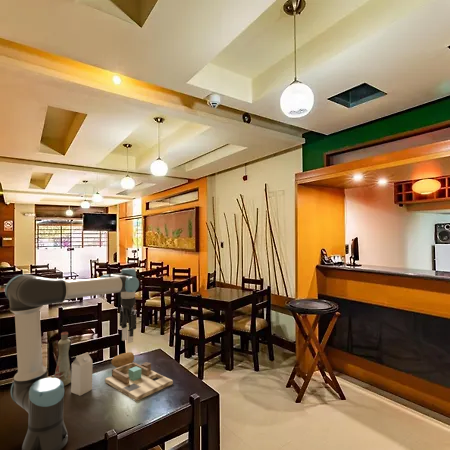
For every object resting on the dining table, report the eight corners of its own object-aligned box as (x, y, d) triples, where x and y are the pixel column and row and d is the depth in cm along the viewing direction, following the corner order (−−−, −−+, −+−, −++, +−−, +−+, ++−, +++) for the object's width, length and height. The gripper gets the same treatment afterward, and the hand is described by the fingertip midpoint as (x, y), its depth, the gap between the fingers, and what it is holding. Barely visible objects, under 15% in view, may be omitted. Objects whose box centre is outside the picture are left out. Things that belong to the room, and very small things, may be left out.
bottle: (71, 386, 163) (72, 333, 164) (51, 389, 160) (53, 335, 161) (72, 379, 171) (73, 328, 172) (54, 381, 168) (55, 330, 169)
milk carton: (70, 392, 156) (71, 355, 157) (83, 386, 162) (83, 350, 163) (80, 396, 153) (80, 357, 154) (92, 389, 159) (92, 353, 160)
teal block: (133, 381, 165) (133, 371, 165) (128, 378, 168) (128, 369, 168) (141, 377, 169) (141, 368, 169) (136, 375, 172) (136, 366, 172)
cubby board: (136, 401, 148) (136, 389, 148) (105, 382, 167) (105, 372, 168) (172, 383, 166) (172, 373, 166) (140, 368, 185) (140, 359, 185)
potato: (108, 367, 186) (108, 354, 186) (130, 361, 195) (130, 349, 195) (114, 373, 179) (114, 359, 179) (137, 366, 188) (137, 353, 188)
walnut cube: (146, 372, 175) (146, 365, 175) (141, 371, 176) (141, 364, 177) (150, 370, 178) (151, 363, 179) (145, 368, 180) (145, 362, 180)
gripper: (144, 298, 160) (143, 343, 159) (125, 294, 172) (124, 335, 171) (131, 300, 154) (130, 346, 153) (113, 296, 166) (112, 339, 165)
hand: (127, 341), depth 162 cm, fingers open, 5 cm apart
